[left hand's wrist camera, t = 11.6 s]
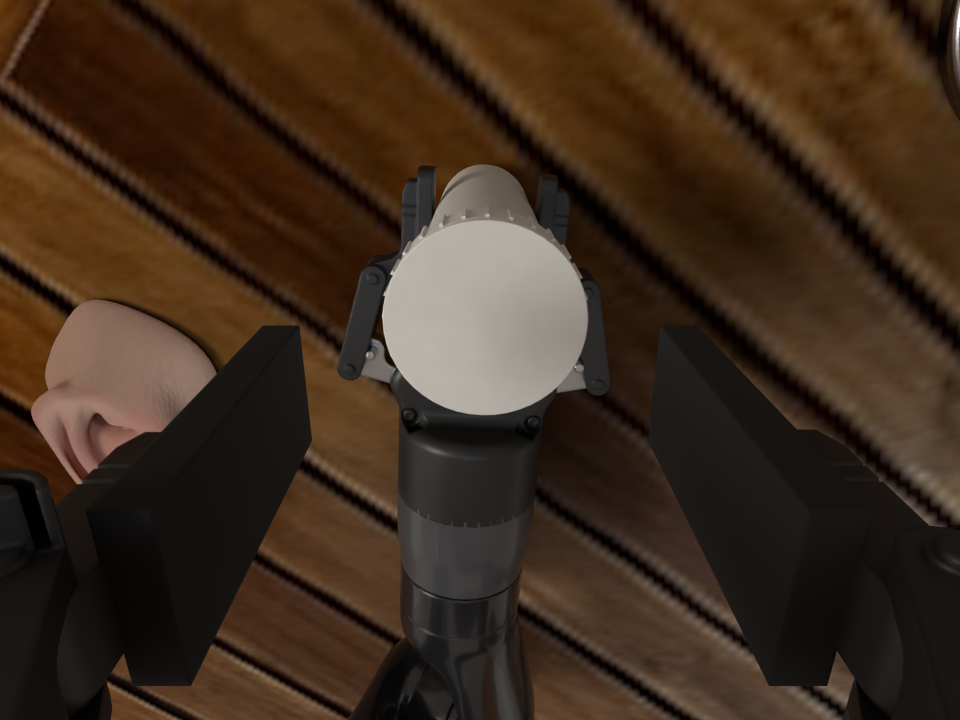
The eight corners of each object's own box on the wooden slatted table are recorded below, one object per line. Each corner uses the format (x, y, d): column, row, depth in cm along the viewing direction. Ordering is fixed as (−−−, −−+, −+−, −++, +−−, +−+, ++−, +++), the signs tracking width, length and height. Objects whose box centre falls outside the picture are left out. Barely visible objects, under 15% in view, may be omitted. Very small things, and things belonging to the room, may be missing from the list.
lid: (376, 214, 19) (364, 227, 17) (576, 196, 18) (587, 207, 17) (403, 395, 21) (395, 425, 19) (583, 380, 21) (593, 409, 19)
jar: (435, 168, 36) (386, 240, 17) (523, 160, 35) (568, 224, 17) (445, 255, 37) (410, 403, 19) (529, 247, 37) (575, 389, 19)
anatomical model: (-5, 307, 34) (213, 347, 35) (42, 287, 38) (238, 324, 39) (12, 513, 39) (203, 544, 40) (53, 477, 43) (227, 506, 44)
